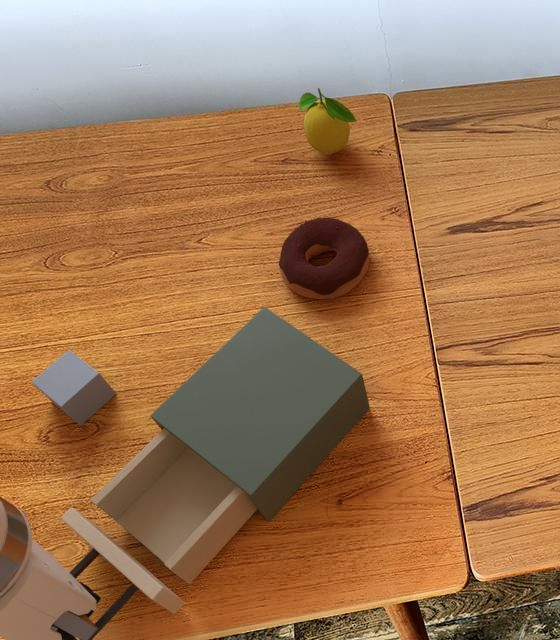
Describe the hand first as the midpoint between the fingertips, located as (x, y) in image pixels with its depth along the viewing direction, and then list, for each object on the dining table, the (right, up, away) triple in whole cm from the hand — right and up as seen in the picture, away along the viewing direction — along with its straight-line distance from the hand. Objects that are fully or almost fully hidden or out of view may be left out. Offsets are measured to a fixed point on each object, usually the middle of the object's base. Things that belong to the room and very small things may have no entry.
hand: (80, 608), depth 64 cm
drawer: (+4, +4, +5) cm, 8 cm away
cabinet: (+13, +13, +13) cm, 22 cm away
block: (-7, +16, +14) cm, 22 cm away
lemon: (+15, +46, +33) cm, 58 cm away
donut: (+16, +30, +23) cm, 41 cm away
